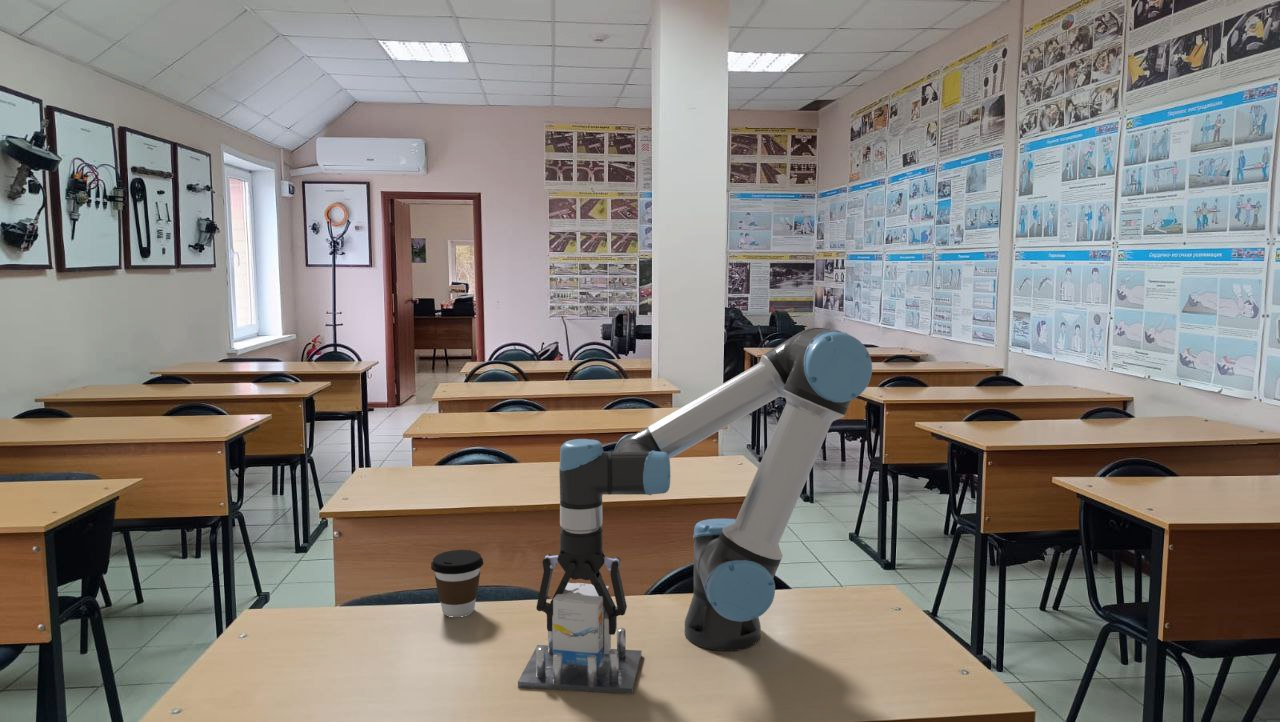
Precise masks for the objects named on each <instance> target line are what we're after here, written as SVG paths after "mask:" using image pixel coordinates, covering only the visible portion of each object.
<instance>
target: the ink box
mask: <svg viewBox="0 0 1280 722" xmlns="http://www.w3.org/2000/svg"><path fill="white" fill-rule="evenodd" d="M606 587H607V590H608V592H609V589H610V586H609V585H606ZM609 593H610V592H609ZM552 598H553V597H552ZM606 613H607V612H606V610H605V608H604V606H603V597H602V596H598V594H597V591H596V589H595V587H594V586H593V585H592V583H582V582H568V584H567V586H566V588H565V590H564V592H563V593H562V594H557V595H556V596H555V597H554V598H553V654H555V653H561V654H562V663H564V664H574V665H583V666H587V657H588V656H589V655H595V656H596V657H597V667H598V666H599V664H600V662H601V660H602V658H603V656H604V618H605V616H606Z"/></svg>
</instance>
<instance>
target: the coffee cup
mask: <svg viewBox="0 0 1280 722" xmlns="http://www.w3.org/2000/svg"><path fill="white" fill-rule="evenodd" d="M483 565H484V559H483V557H482V555H481V554H480V553H479V552H477V551H474V550H471V549H456V550H454V549H453V550H449V551H444V552H441V553H438V554H436V555H435V556H434V557H433V558H432V561H431V562H430V568H431V570H432V571H433V572H434V579H435V585H436V590H437V595H438V596H437V597H438V600H439V602H440V606H441V611H442V613H443V615H444V614H445V615H448V616H453V617H461V616H465V615H468V614H470V615H472V613H473V612H474V610H475V607H476V600H477V597H478V591H479V585H480V578H481V577H480V575H481V568H482V567H483ZM445 615H444V616H445ZM468 616H469V615H468ZM465 617H466V616H465Z"/></svg>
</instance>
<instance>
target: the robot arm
mask: <svg viewBox="0 0 1280 722" xmlns="http://www.w3.org/2000/svg"><path fill="white" fill-rule="evenodd" d="M872 374H873V361H872V358H871V356H870V353H869V351H868V349H867V347H866V346H865V345H864V343H863V342H861V340H859V339H858V338H856V337H855V336H852V335H851V334H849V333H847V332H845V331H840V330H838V329H837V330H834V329H827V328H824V327H812V328H807V329H804V330H802V331H799V332H798V333H796V334H795V335H792V337H789V338H788V339H786V340H784V341H782V342H781V343H780V344H778V345H777V346H775V347H774V348H772V349H771V350H769V351H767V352H765V353H764V354H762V355H761V356H760V359H759V362H758V363H756V364H754V365H753V366H751V367H750V368H748V369H746V370H745V371H743V372H740V373H739V374H738V375H736V376H734V377H731V379H729V380H727V381H725V382H724V383H722V384H719V385H718V386H716V387H715V388H713V389H711V390H709V391H708V392H706V393H704V394H703V395H701V396H699V397H698V398H696V399H694V400H692V401H691V402H689V403H687V404H685V405H684V406H682V407H679V408H678V409H676V410H675V411H673V412H671V413H669V414H668V415H666V416H664V417H662V418H661V419H659V420H657V421H655V422H654V423H651V424H650V425H649V426H647V427H645V428H644V429H641V430H639V431H638V432H636V433H628V434H625V435H623V436H622V437H621V438H619V439H618V442H617V443H616V445H615V447H614V450H613V452H612V451H604V448H603V444H602V442H600V441H599V440H598V439H588V438H577V439H571V440H570V439H569V440H568V441H567V440H566V441H565V442H563V444H562V445H561V446H560V448H559V449H560V451H559V468H558V469H559V470H558V471H559V474H558V475H559V525H560V527H561V528H560V530H559V544H560V545H559V548H560V549H559V553H558V554H556V555H552V554H551V553H548V554H546V555H545V556H544V558H543V559H542V568H543V574H542V578H541V582H540V584H541V585H540V587H539V593H538V597H537V602H536V607H535V609H536V610H537V611H538V612H543V613H545V615H546V629H547V632H548V631H552V638H553V598H554V597H555V596H556V595H557V594H562V593H563V592H564V590H565V588H566V586H567V584H568V583H570V580H575V581H576V580H583V581H590V584H592V585H593V586H594V587H595V589H596V591H597V594H598V596H602V597H603V606H604V608H605V610H606V612H607V613H606V616H605V618H604V654H609V651H610V649H612V641H611V640H612V635H614V636H615V634H616V633H617V629H618V628H617V625H618V623H617V619H618V618H617V617H618V616H624V615H625V614H626V611H627V607H628V605H627V601H626V596H625V592H624V587H623V582H622V579H621V578H622V577H621V573H620V563H621V559H620V557H619V556H616V557H614V558H611V557H607V556H605V554H604V550H603V528H602V525H603V496H604V495H606V496H607V495H608V496H609V495H610V496H611V495H613V496H614V495H622V496H623V495H625V496H626V495H637V496H638V495H641V496H642V495H647V496H652V495H660V494H661V495H662V494H666V493H668V491H669V490H670V487H671V460H670V459H673V458H674V457H676V456H677V455H679V454H681V453H684V451H687V450H688V449H690V448H691V447H693V446H695V445H697V444H698V443H700V442H702V441H704V440H706V439H707V438H709V437H711V436H713V435H714V434H716V433H718V432H719V431H721V430H723V429H725V428H727V427H729V426H730V425H733V424H734V423H735V422H737V421H739V420H740V419H742V418H745V417H746V416H747V415H750V414H751V413H753V412H755V411H757V410H758V409H760V408H762V407H764V406H765V405H767V404H769V403H771V402H773V401H774V400H776V399H778V398H782V399H783V398H784V399H785V400H786V403H785V406H784V408H783V410H782V412H781V415H780V417H779V419H778V422H777V423H776V427H775V429H774V430H773V433H772V436H771V438H770V440H769V442H768V445H767V447H766V449H765V451H764V454H763V456H762V458H761V461H760V463H759V466H758V467H757V469H756V473H755V475H754V477H753V479H752V482H751V484H750V486H749V488H748V491H747V493H746V495H745V497H744V500H743V503H742V505H741V508H740V509H739V512H738V514H737V515H736V516H737V517H736V518H708V519H704V520H700V521H698V522H697V523H696V524H695V525H694V530H693V536H692V539H693V596H692V598H691V601H690V604H689V607H688V610H687V613H686V616H685V619H684V636H685V637H686V639H687V640H688V641H689V642H691V643H692V644H695V645H696V646H699V647H701V648H704V649H709V650H713V651H714V650H715V651H723V652H724V651H725V652H726V651H737V650H739V651H740V650H743V649H748V648H750V647H752V646H754V645H755V644H757V643H758V642H759V641H760V640H761V637H762V636H761V634H762V632H761V629H762V628H761V627H762V626H761V621H760V618H759V617H761V616H762V615H764V614H765V613H766V612H767V611H768V610H769V608H770V607H771V606H772V604H773V602H774V599H775V596H776V595H775V593H776V583H775V580H774V577H775V575H776V573H777V570H778V568H779V566H780V563H781V561H782V559H783V553H782V551H781V547H780V544H779V543H780V542H781V540H782V538H783V535H784V532H785V530H786V528H787V525H788V523H789V521H790V519H791V516H792V514H793V512H794V509H795V508H796V505H797V503H798V500H799V499H800V495H801V493H802V491H803V489H804V487H805V485H806V482H807V480H808V478H809V476H810V473H811V471H812V468H813V467H814V464H815V461H816V459H817V457H818V455H819V452H820V451H821V448H822V446H823V444H824V441H825V439H826V436H827V434H828V432H829V430H830V429H831V426H832V424H833V422H834V421H837V420H839V419H842V418H844V417H845V416H846V413H847V411H848V409H849V406H850V405H851V402H852V400H854V399H856V398H857V397H859V396H861V394H862V393H864V392H865V390H866V389H867V387H868V386H869V384H870V381H871V378H872ZM557 563H558V564H559V565H560V567H561V568H562V570H563V571H564V574H563V577H562V579H561V580H560V583H559V584H558V586H557V588H556V590H555V593H554V594H553V597H552V598H551V601H550V603H549V602H548V601H547V599H548V595H549V590H550V587H551V581H552V576H553V572H554V569H555V568H556V566H557ZM604 565H605V566H606V569H607V571H608V572H610V580H611V585H612V590H613V594H614V595H613V596H614V599H615V602H614V600H613V599H612V596H611V593H610V592H608V590H607V587H606V586H607V585H606V583H605V581H604V579H603V576H602V573H601V572H600V570H601V568H602V567H603V566H604ZM615 603H616V604H615Z"/></svg>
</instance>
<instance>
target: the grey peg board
mask: <svg viewBox="0 0 1280 722" xmlns="http://www.w3.org/2000/svg"><path fill="white" fill-rule="evenodd" d="M626 637H627V635H626V628H624V627H618V628H617V629H616V648H610V651H609V654H604V656H603V658H602V660H601V662H600V664H599V666H598V667H597V657H596V656H595V655H589V656H588V657H587V666H583V665H574V664H564V663H562V654H561V653H555V654H553V638H552V631H548V630H547V645H546V644H545V645H544V644H537V645H536V647H535V649H534V651H533V653H532V654H531V656H530V658H529V660H528V662H527V664H526V665H525V667H524V670H523V671H522V673H521V675H520V677H519V679H518V680H517V688H523V689H524V688H525V689H540V690H541V689H542V690H556V691H557V690H559V691H575V692H589V693H591V692H592V693H603V694H604V693H605V694H606V693H607V694H622V695H633V693H634V688H635V685H636V679H637V677H638V671H639V667H640V663H641V660H642V650H640V649H639V650H638V649H636V650H635V649H626V644H627V643H626V640H627V639H626Z"/></svg>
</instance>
